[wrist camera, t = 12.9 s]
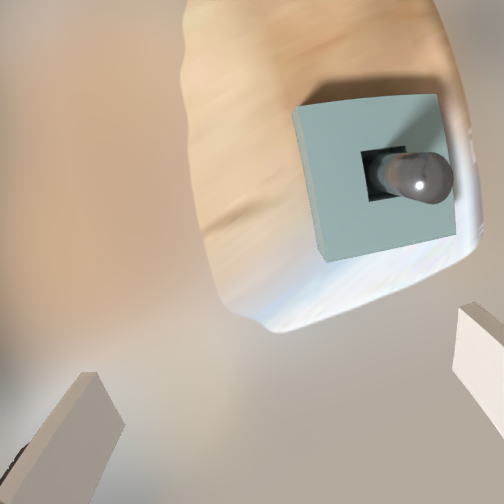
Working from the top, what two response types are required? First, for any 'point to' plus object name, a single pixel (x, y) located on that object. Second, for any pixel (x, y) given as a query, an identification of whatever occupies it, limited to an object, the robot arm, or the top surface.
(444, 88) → the top surface
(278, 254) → the top surface
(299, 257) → the top surface
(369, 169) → the pin
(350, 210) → the bore block
